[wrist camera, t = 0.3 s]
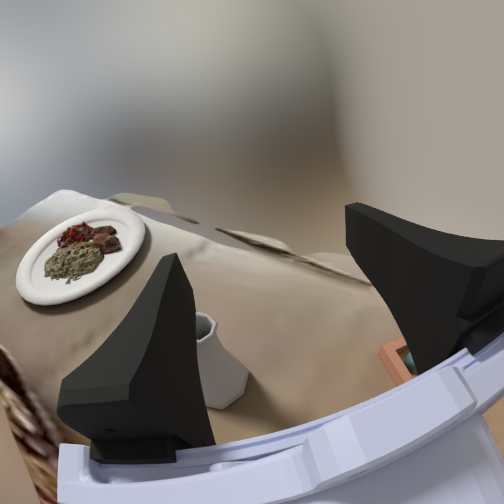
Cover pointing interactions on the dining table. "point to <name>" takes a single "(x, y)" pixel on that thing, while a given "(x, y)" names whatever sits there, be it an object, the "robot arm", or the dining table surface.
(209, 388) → the flask
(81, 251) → the plated food
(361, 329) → the dining table surface
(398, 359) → the salmon square dish
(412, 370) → the pin
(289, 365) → the dining table surface
